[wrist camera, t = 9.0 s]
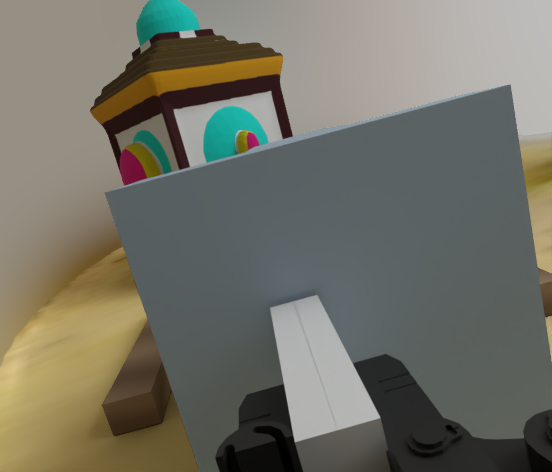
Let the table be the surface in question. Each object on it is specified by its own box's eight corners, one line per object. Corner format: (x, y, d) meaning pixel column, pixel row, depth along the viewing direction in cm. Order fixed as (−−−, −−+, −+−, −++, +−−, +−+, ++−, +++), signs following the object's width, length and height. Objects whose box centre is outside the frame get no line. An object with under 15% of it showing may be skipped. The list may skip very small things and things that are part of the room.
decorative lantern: (206, 293, 44) (100, -51, 37) (127, 278, 59) (42, 33, 53) (345, 226, 55) (282, -44, 49) (249, 228, 71) (191, 23, 65)
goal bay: (566, 310, 24) (562, 278, 24) (113, 435, 24) (102, 404, 23) (434, 242, 41) (430, 222, 40) (167, 314, 40) (161, 295, 40)
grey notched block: (564, 448, 16) (510, 84, 13) (218, 527, 16) (104, 192, 14) (433, 307, 28) (393, 109, 26) (242, 354, 29) (185, 165, 26)
